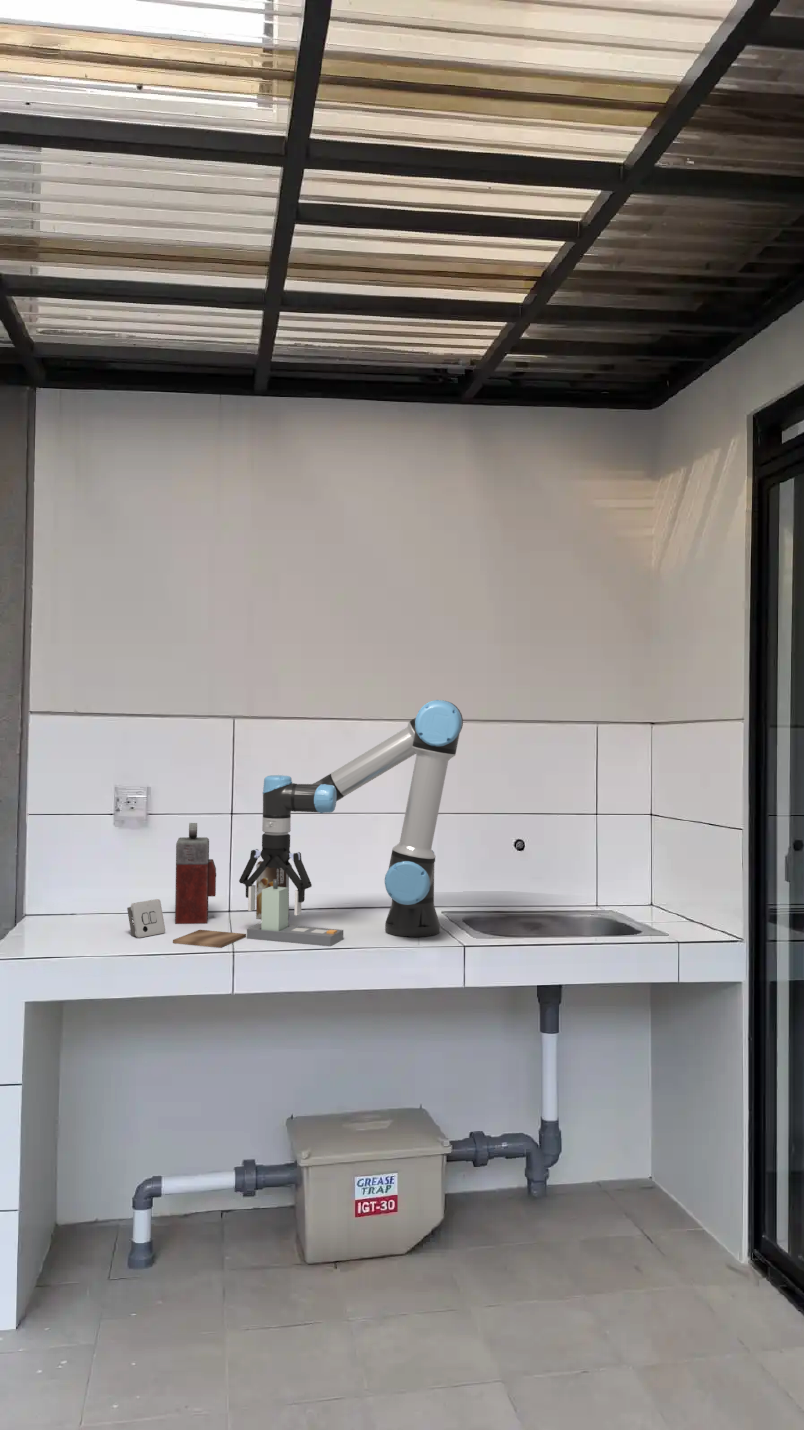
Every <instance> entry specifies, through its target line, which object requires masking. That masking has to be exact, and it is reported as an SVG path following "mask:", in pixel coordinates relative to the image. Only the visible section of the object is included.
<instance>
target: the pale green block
mask: <svg viewBox="0 0 804 1430" xmlns="http://www.w3.org/2000/svg"><path fill="white" fill-rule="evenodd" d="M288 890H289V891H290V887H289V888H288V887H278V880H277V879H274V880H273V886H271V887H268V888H265V889H263V890H262V919H261V922H260V923H261V929H262V930H273V931H281V930H283V929H285V928H288V925H289V917H288Z"/></svg>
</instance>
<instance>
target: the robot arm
mask: <svg viewBox="0 0 804 1430" xmlns="http://www.w3.org/2000/svg"><path fill="white" fill-rule="evenodd" d="M463 723H464V718H463V715H462V712H461V710H460V709H459V708H458V707H457V706H456V705H455V704H454V703H452V702H450V701H447V700H443V699H440V700H439V699H435V700H431V701H428V702H427V703H425V704H424V705H422V707H421V708H420V709H419V710H418V713H417V714H416V716H415V718H412V719H411V720H409V721H408V723H407V726H406V727H405V728H403V729H402V730H400V731H399V732H396V733H395V734H393V735H391V736H390V737H388V738H387V739H385V740H384V741H381V742H379V744H377V745H375V746H373V747H372V748H370V749H368V750H367V751H365V752H364V753H362V754H361V755H359V756H357V757H355V758H354V759H353V760H351V761H348V762H347V763H346V764H343V765H342V766H340V767H339V768H338V769H336V770H334V771H333V772H331V773H329V774H328V775H326V776H324V777H322V778H321V779H319V780H317V781H315V782H313V783H310V784H309V783H293V780H292V777H291V776H289V775H283V774H282V775H279V774H278V775H267V776H265V777H264V779H263V788H262V789H263V791H262V827H261V828H262V832H263V834H262V835H261V850H260V849H258V848H254V849H251V850H250V856H249V860H248V862H247V863H246V866H245V868H244V870H243V872H242V874H241V876H240V878H239V880H238V882H239V883H240V884H243V885H244V886H245V898H247V899H248V901H247V902H248V903H247V911H248V912H251V911H254V910H256V884H255V885H254V883H255V882H256V880H257V878H258V877H259V876H260V875H261V874H262V872H263V871H264V870H265V869H266V868H267V867H269V868H277V869H280V868H282V869H283V870H284V871H285V872H286V873H287V875H288V876H289V880H290V881H291V882H292V883H293V885H294V886H295V887H296V890H295V891H294V913H293V914H294V916H298V915H302V903H304V902H305V895H306V894H305V891H306V889H307V890H308V889H309V888H312V886H313V884H312V882H311V879H310V877H309V875H308V872H307V871H306V868H305V866H304V863H303V861H302V852H300V851H298V852H294V853H293V852H292V853H291V849H290V848H291V835H290V832H291V829H292V828H291V825H292V823H291V818H292V817H291V816H292V812H297V813H298V812H301V813H302V812H303V813H319V814H323V813H328V814H331V813H333V812H335V810H336V806H337V801H339V800H341V799H343V798H344V797H346V796H348V795H350V794H352V792H354V791H357V790H358V789H359V788H361V787H363V786H364V785H366V784H368V783H369V782H371V781H373V780H375V779H376V778H378V777H379V776H381V775H383V774H384V773H386V772H388V771H389V770H391V769H393V768H394V767H396V766H398V765H400V764H401V763H403V762H404V761H406V760H408V759H410V758H412V756H414V755H416V756H415V760H414V767H413V771H412V777H411V782H410V787H409V791H408V797H407V803H406V808H405V812H404V818H403V821H402V823H403V824H402V827H401V828H402V829H401V833H400V837H399V842H398V843H397V844H396V845H395V846H393V847H392V850H391V853H390V854H391V855H390V859H389V863H388V864H389V865H388V870H387V871H386V874H384V887H385V891H386V893H387V894H388V896H389V897H390V899H391V905H390V908H389V911H388V914H387V917H386V920H385V924H384V925H385V926H384V928H385V929H384V930H385V931H384V932H385V933H387V934H390V935H393V936H397V937H398V936H400V937H407V936H410V938H411V937H413V938H415V937H416V938H419V937H421V938H422V937H430V936H434V935H437V934H439V933H440V928H441V926H440V925H441V924H440V921H439V920H440V919H439V917H438V914H437V910H436V907H435V863H436V854H435V851H433V850H432V846H433V841H434V838H435V837H434V836H435V832H436V827H437V821H438V816H439V811H440V806H441V801H442V795H443V791H444V785H445V779H446V775H447V772H448V771H447V770H448V766H449V765H448V764H449V761H450V760H451V759H453V758H454V757H455V756H456V755H457V754H456V753H457V749H458V744H459V739H460V733H461V732H462V729H463V725H464V724H463ZM259 858H261V859H262V861H263V862H262V863H261V864H260V865H259V867H258V868H257V869H256V868H255V865H256V863H257V861H258V859H259ZM290 859H291V861H292V862H293V864H294V867H295V868H296V871H297V873H296V871H295V870H294V868H293V866H292V863H290ZM254 868H255V871H254V872H253V869H254ZM252 872H253V873H252Z"/></svg>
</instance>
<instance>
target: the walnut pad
mask: <svg viewBox="0 0 804 1430" xmlns="http://www.w3.org/2000/svg"><path fill="white" fill-rule="evenodd" d="M244 938H247V933H239V932H230V931H229V932H228V931H217V930H207V929H198V930H195V931H193V932H189V933H188V934H185V935H182V936H180V937H177V938H174V939H172V943H173V944H180V945H189V946H197V947H198V946H200V947H207V948H208V947H210V948H222V949H223V948H224V947H225V946H226V947H227V946H228V945H230V944H233V943H235V942H238V941H240V940H242V939H244Z"/></svg>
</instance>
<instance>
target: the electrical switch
mask: <svg viewBox="0 0 804 1430" xmlns="http://www.w3.org/2000/svg"><path fill="white" fill-rule="evenodd" d="M126 910H127V917H128V922H129V923H128V924H129V928H130V934H131V937H136V938H137V939H142V938H146V937H152V936H157V935H162V934H164V933H165V932H166V925H165V920H164V914H163V913H164V912H163V908H162V902H161V900H160V899H157V898H156V899H150V900H144V901H138V902H133V903H132V902H131V904H130V906H128V907H127V908H126Z"/></svg>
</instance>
